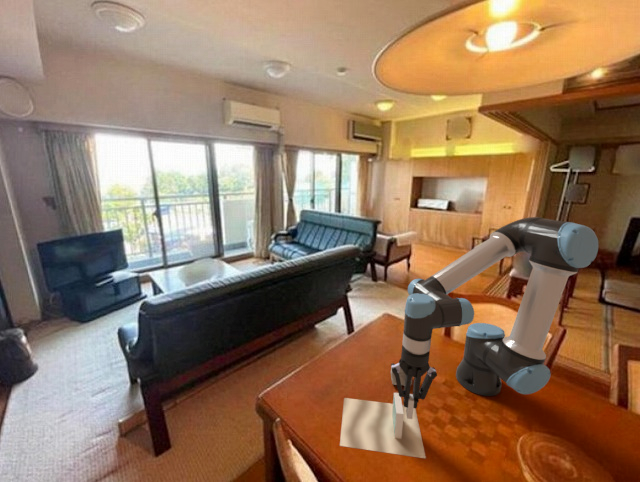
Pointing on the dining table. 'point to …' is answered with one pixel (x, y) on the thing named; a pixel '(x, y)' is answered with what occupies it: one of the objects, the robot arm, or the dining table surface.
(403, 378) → the stone
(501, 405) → the dining table surface
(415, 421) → the cloth
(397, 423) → the tile
